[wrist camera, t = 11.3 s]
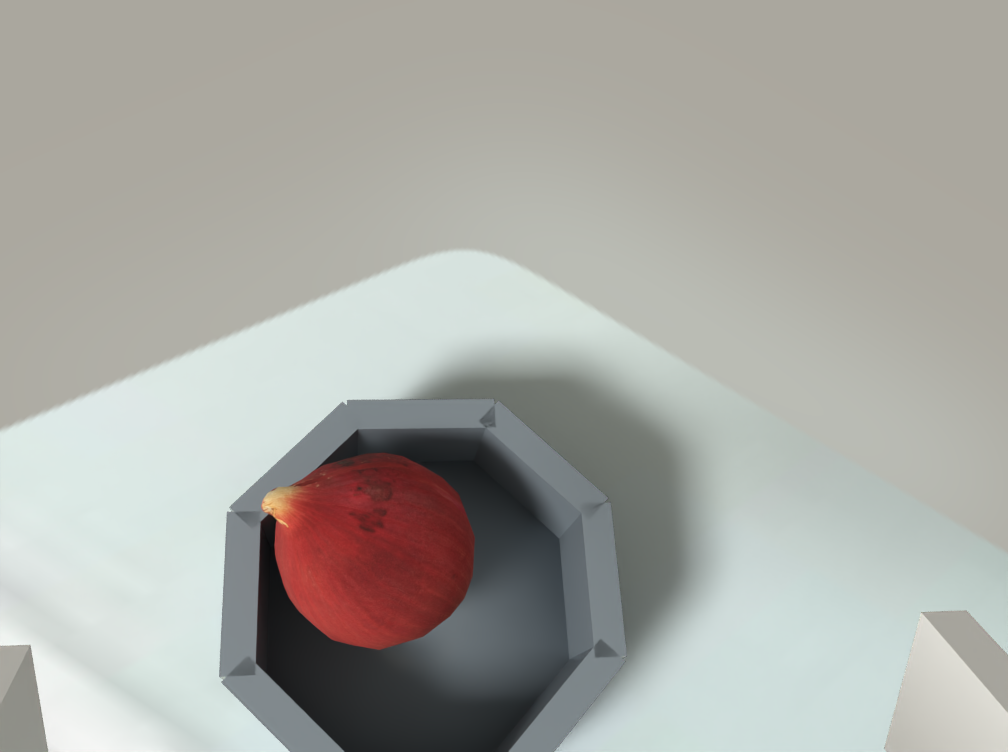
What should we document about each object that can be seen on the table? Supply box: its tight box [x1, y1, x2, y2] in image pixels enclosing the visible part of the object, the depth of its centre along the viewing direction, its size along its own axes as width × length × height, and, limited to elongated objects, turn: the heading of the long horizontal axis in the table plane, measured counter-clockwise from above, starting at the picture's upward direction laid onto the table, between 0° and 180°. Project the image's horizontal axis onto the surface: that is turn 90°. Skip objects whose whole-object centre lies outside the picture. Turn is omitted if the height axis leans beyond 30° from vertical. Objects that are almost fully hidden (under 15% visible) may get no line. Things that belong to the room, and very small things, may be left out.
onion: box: [261, 453, 475, 650], centre depth 29 cm, size 6×6×8 cm
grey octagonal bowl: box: [219, 399, 627, 752], centre depth 31 cm, size 12×12×4 cm
